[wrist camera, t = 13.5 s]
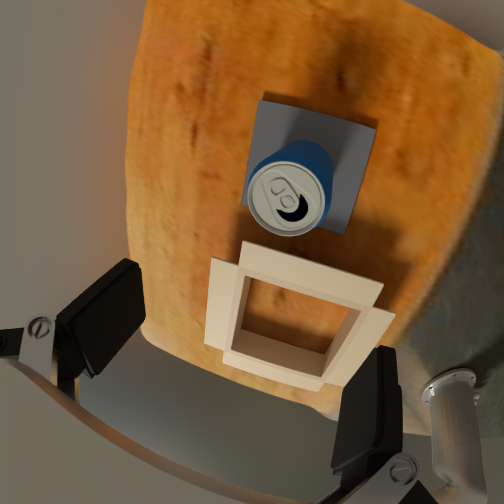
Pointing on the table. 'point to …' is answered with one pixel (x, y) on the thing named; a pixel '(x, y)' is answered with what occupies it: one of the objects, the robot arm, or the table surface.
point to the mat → (325, 135)
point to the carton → (304, 281)
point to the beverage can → (292, 189)
